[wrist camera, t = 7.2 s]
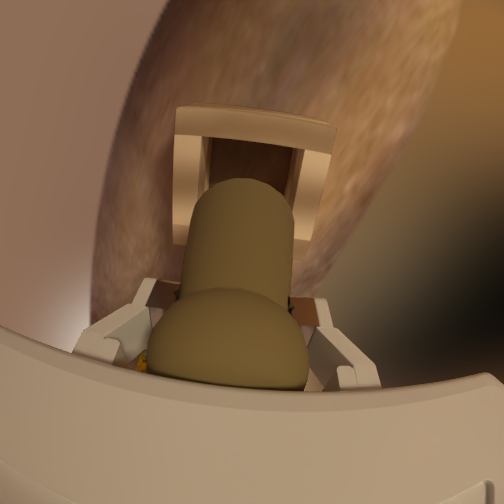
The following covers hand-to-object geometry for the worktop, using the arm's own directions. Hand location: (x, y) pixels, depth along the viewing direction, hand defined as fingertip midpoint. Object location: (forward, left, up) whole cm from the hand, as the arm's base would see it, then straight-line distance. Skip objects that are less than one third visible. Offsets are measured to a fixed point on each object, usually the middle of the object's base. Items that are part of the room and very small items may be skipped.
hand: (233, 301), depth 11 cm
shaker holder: (0, 0, -18) cm, 18 cm away
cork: (0, 0, -7) cm, 7 cm away
